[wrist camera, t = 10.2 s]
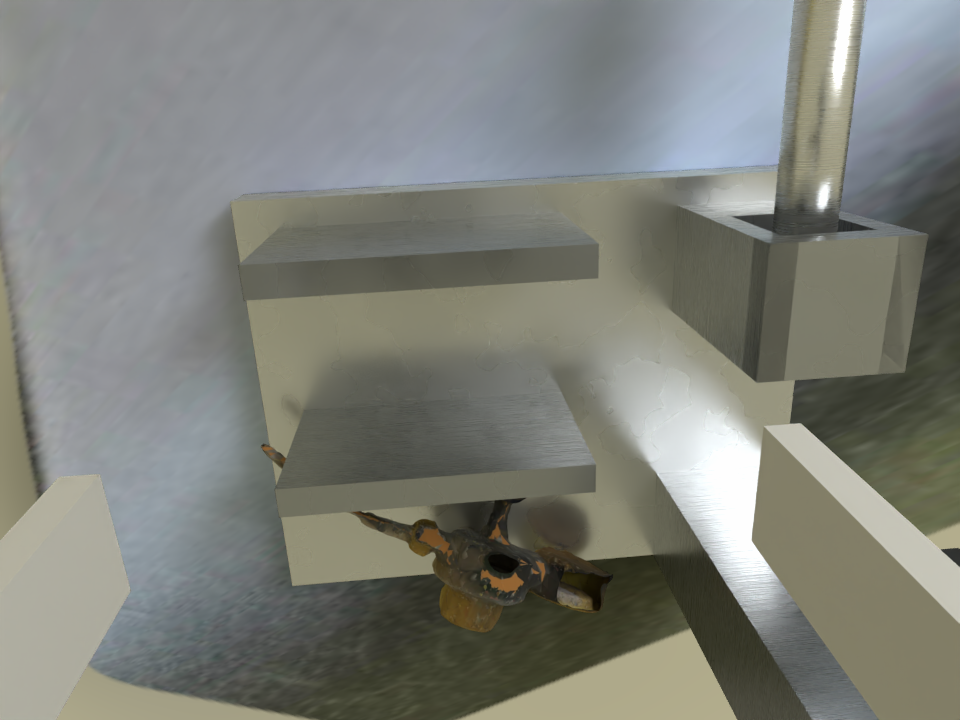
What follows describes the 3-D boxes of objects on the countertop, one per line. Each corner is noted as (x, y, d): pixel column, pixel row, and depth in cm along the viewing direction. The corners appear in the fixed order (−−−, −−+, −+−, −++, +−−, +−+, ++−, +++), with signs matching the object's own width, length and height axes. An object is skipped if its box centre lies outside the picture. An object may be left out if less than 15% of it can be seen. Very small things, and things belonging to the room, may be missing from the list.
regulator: (222, 511, 27) (547, 647, 31) (215, 539, 24) (586, 690, 28) (314, 336, 28) (620, 491, 32) (321, 336, 24) (667, 512, 28)
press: (243, 194, 27) (-169, 421, 8) (792, 164, 28) (1547, 299, 9) (299, 557, 32) (134, 1193, 14) (755, 519, 34) (1183, 1053, 15)
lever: (743, -212, 19) (820, -287, 16) (886, -215, 20) (996, -290, 16) (708, 307, 24) (760, 344, 21) (822, 299, 25) (894, 335, 21)
